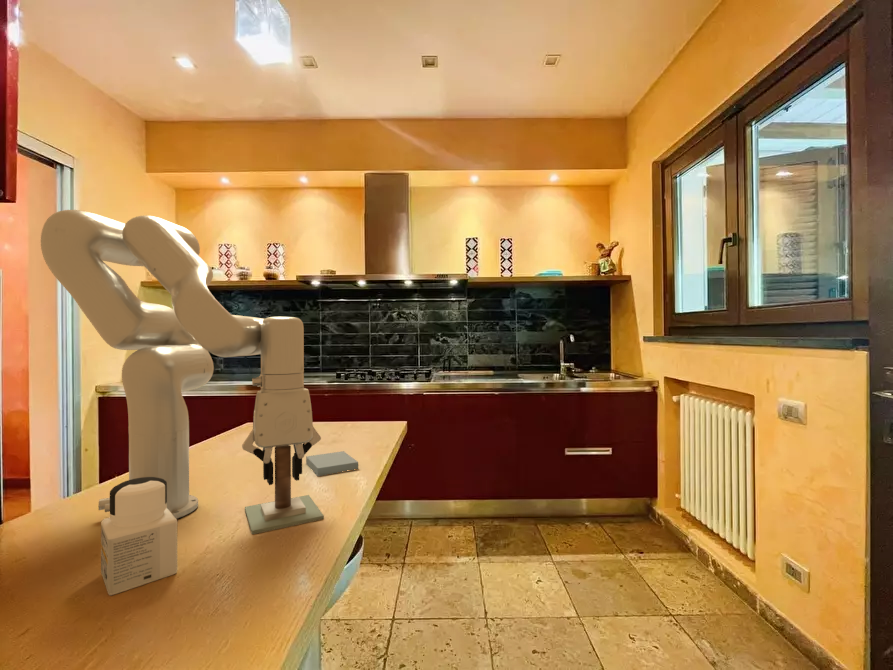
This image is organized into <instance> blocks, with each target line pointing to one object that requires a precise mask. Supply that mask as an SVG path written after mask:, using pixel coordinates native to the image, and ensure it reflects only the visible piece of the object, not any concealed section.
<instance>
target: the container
mask: <svg viewBox="0 0 893 670" xmlns="http://www.w3.org/2000/svg"><path fill="white" fill-rule="evenodd" d="M109 498H110V511H109V517H106V518H104V519H102V520H101V522H100V573H101V576H102V577H101V578H102V580H103V582H104V585H105V589H106V592H107V594H108V596H114V595H117V594H120V593H122V592H126V591H128V590H129V591H130V590H131V589H135V588H138V587H140V586H141V587H142V586H144V585H146V584H150V583H153V582H156V581H158V580H162V579H165V578H167V577H170V576H173V575H175V574H177V572H178V518H177V519H176V518H175V517H174V516H173V514H172V513H171V512H170V511H169V510H168V509H167V482H166V481H165V480H164V479H162V478H157V477H142V478H136V479H131V480H129V479H128V480H125V481H122V482H121V483H118V484H117V485H115V486H113V487H112V489H111V490H110V491H109Z"/></svg>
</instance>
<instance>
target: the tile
mask: <svg viewBox="0 0 893 670" xmlns="http://www.w3.org/2000/svg"><path fill="white" fill-rule="evenodd" d="M305 464H306V465H307V466H308V468H310V470H311V469H312V470H313V471H312V470H311V471H312V472H313V473H314V474H315V475H316V476H317V477H322V476H323V475H324V476H328V475H327V474H330V475H333V474H332V473H336V474H338V473H337V472H341V473H343V472H342V471H347V470H353V471H355V470H354V469H358V470H359V461H358V460H356V458H353V457H352V456H351V455H349V454H348V453H347V452H346V451H344V450H343V451H337V452H336V451H335V452H334V451H333V452H328V453H319V454H315V455H313V454H312V455H307V456H306V458H305ZM347 472H348V471H347Z"/></svg>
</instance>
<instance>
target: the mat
mask: <svg viewBox="0 0 893 670" xmlns="http://www.w3.org/2000/svg"><path fill="white" fill-rule="evenodd" d="M297 497H299V498H300V499H301V501H302V502H303V504H304V505H305V507H306V513H303V514H298V515H293V516H288V517H283V518H278V519H273V520H268V521H265V520H264V517H263V514H262V512H261V504H265V503H266V502H263V503H258V504H252V505H248V506H244V512H245V516H246V518H247V519H246V520H247V522H248V525H249V529H250V533H251V535H255V534H261V533H265V532H269V531H274V530H278V529H285V528H288V527H293V526H297V525H301V524H306V523H307V524H308V523H311V522H316V521H320V520H321V521H322V520H324V518H325V515H324V514H323V513H322V511H321V510H320V508H319V507H318V506H317V504H316V503H315V501H314V500H313V499H312V497H311V496H310V495H309V494H307V495H302V496H295V497H294V498H297ZM270 502H271V501H268V502H267V503H270ZM272 502H275V500H274V501H272Z"/></svg>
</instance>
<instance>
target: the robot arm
mask: <svg viewBox="0 0 893 670" xmlns="http://www.w3.org/2000/svg"><path fill="white" fill-rule="evenodd" d="M200 249H201V247H200V243H199V241H198V239H197V237H196V236H195V235H194V234H193V232H192V231H191V230H189V229H187V228H186V227H184V226H182V225H178V224H176V223H174V222H171V221H168V220H166V219H164V218H161V217H158V216H154V215H147V214H146V215H138V216H135V217H132V218H131V219H128V220H127V221H126V222H122V221H118V220H117V219H116V220H115V219H112V218H109V217H106V216H104V215H101V214H98V213H94V212H92V211H91V212H90V211H85V210H81V209H63V210H59V211H56V212H54V213H52V214H50V216H49V217H48V218H47V219H46V221H45V222H44V224H43V226H42V230H41V233H40V250H41V253H42V254H41V255H42V257H43V260H44V261H45V264H46V265H47V267H48V269H49V270H50V271H51V273H52V274H53V276H54V277H55V278H56V279H57V281H58V282H59V283H60V284H61V285H62V287H64V289H65V290H66V291H67V292H68V293H69V295H70V296H71V297H72V299H74V301H75V303H76V304H77V305H78V306H79V308H80V309H81V311H82V312H83V314H84V315H85V317H86V318H87V319H88V321H89V322H90V323H91V324H92V326H93V327H94V329H95V331H97V333H98V334H99V335H100V337H101V338H102V340H103V341H104V342H105V343H106V344H107V345H109V346H110V347H112V348H113V349H116V350H120V351H121V350H122V351H133V352H132V353H130V354H129V356H128V357H127V358H126V359H125V361H124V362H123V365H122V369H121V381H122V386H123V389H124V393H125V399H126V404H127V414H128V415H127V416H128V419H127V420H128V421H127V422H128V480H131V479H136V478H142V477H157V478H162V479H164V480H165V481H166V482H167V509H168V510H169V511H170V512H171V513H172V514H173V516H174V517H175V518H176V519H177V520H178V519H179V518H182V517H185V516H187V515H189V514H190V513H192V512H194V511H195V510H196V509H197V508H198V506H199V499H198V497H197V496H195V495H192V494H190V419H189V418H190V416H189V410H188V406H187V404H186V401H185V399H184V397H183V394H182V393H183V392H188V391H192V390H193V391H194V390H196V389H199V388H202V387H203V386H205V385H206V384H207V383H209V381H210V380H211V379H212V377H213V374H214V369H215V367H214V361H213V359H212V356H211V354H212V355H214V356H217V357H221V358H233V357H245V356H246V357H248V356H256V355H260V375H259V376H257V377H253V378H252V379H251V380H252V381H251V382H252V383H251V384H252V386H257V387H260V390H258V391H256V396H255V402H254V408H253V417H252V418H253V422H252V429H251V431H250V432H249V434H248V436H247V437H246V438H245V440H244V442H243V443H242V445H241V448H242V450H243V451H245V452H248V453H250V454H252V455H253V456H256V457H257V458H258V459H259V460H260V461H262V462H263V463H262V465H263V467H262V469H263V470H262V471H263V472H262V473H263V477H262V478H263V480H264V481H266V482H267V484H268V485H269V486H271V485H273V484H274V462H273V460H272V454H273V453H272V452H273V448H275V447H277V446H285V445H290V446H293V449H294V453H293V455H292V456H291V477H292V478H293V479H294V481H300V475H302V474H303V458H304V457H305V455H306V454H307V453H308V452H309V451H310V449H311V448H312V447H313V446H315V445H316V444H317V443H319V442H320V441H321V440H322V437H321V435H320V434H319V433H318V431H317V430H316V427H314V424H313V423H314V422H313V411H312V410H313V409H312V403H311V395H310V390H309V389H308V388H306V387H305V381H304V380H305V374H304V373H305V370H304V369H305V365H304V364H305V360H304V359H305V357H304V355H305V352H304V351H305V350H304V349H305V348H304V346H305V345H304V343H305V341H304V340H305V339H304V337H305V335H304V332H305V330H304V329H305V328H304V323H303V321H302V319H300V318H299V317H294V316H270V317H269V316H268V317H266V318H260V317H254V316H246V315H244V316H243V315H238V314H236V315H235V314H231V313H230V312H229V311H228V310H227V309H226V308H225V307H224V306H223V305H222V304H221V303H220V302H219V301H218V300H217V299H216V298H215V296H214V295H213V294H212V292H211V291H210V289H209V288H208V287H209V285H210V283H211V282H212V280H213V278H214V272H213V270H212V268H211V266H210V265H209V264H207V262H206V261H205V260H204V259H203V258H202V257H201V256H200V253H201V251H200ZM107 262H108V263H113V264H117V265H123V266H130V267H144V268H145V269H146V270H147V271H148V272H149V273H150V274H151V275H152V277H154V278H155V279H156V280H157V281H158V283H160V285H161V286H163V287H162V288H164V289H165V290H166V291H167V292H168V293H169V295H170V297H171V305H172V307H173V308H172V307H169V306H168V305H164V304H158V303H151V302H146V301H143V300H141V299H140V298H139V297H138V296H137V295H136V294H135V293H134V292H133V291H132V289H130V287H129V285H128V284H127V282H126V281H125V280H124V278H122V276H120V275H119V273H118V272H116V271H115V270H114V269H112V268H111V267H110V266H109V265H108V264H106V263H107ZM254 443H255V445H254ZM261 448H262V449H261ZM103 510H104V513H107V512H109V513H110V497H107V498H106V497H105V498H100V499H99V500H98V511H103Z"/></svg>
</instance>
